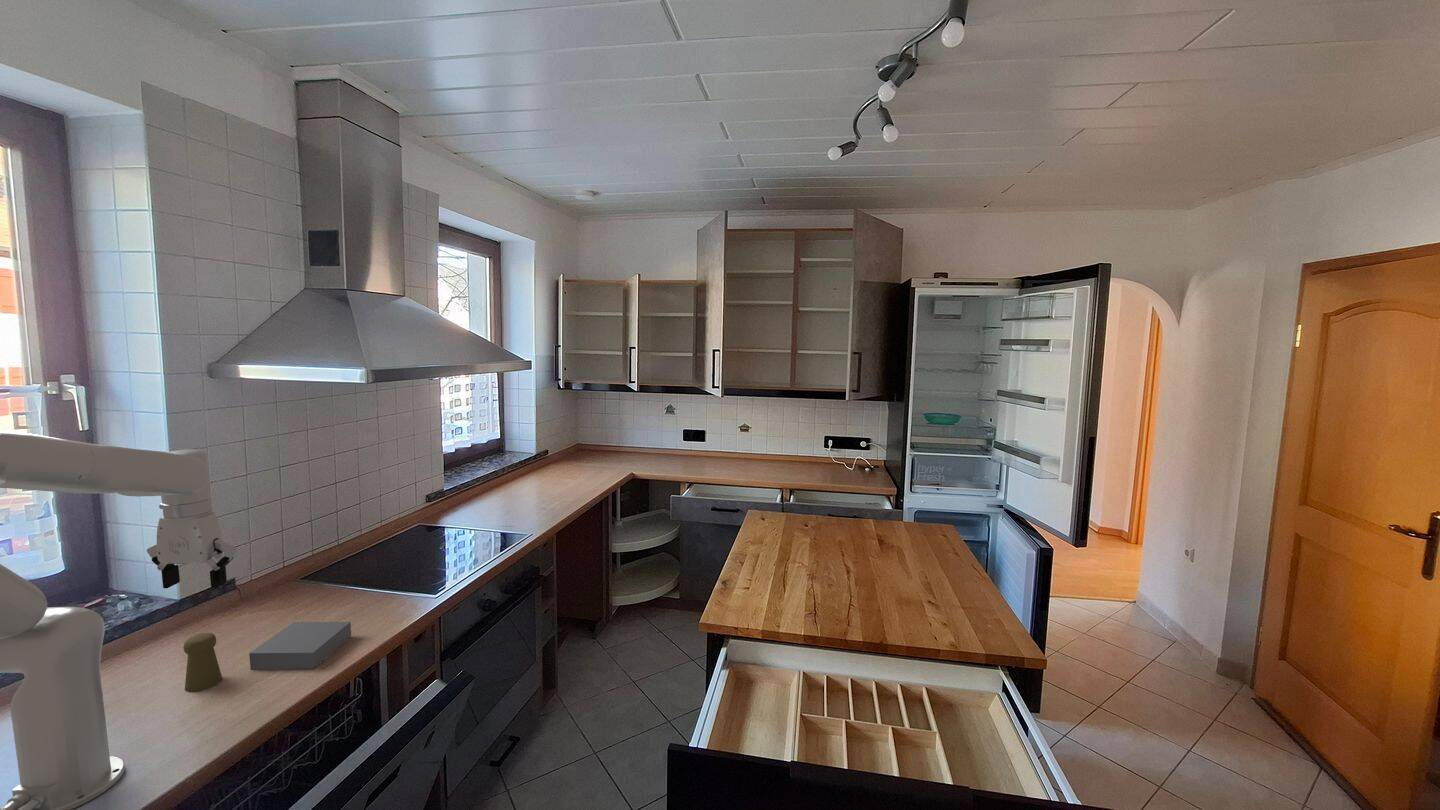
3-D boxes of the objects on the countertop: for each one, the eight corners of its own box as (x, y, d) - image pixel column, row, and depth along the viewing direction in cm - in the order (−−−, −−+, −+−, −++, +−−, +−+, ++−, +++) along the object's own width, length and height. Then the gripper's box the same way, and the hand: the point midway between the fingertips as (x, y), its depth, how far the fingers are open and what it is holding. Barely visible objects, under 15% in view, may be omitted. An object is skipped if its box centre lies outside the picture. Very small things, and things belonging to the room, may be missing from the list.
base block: (313, 669, 126) (312, 652, 126) (250, 669, 126) (249, 653, 125) (351, 636, 140) (350, 621, 140) (294, 636, 139) (293, 622, 139)
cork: (219, 671, 124) (215, 626, 123) (224, 682, 121) (220, 635, 119) (182, 684, 120) (177, 636, 119) (186, 695, 116) (182, 646, 115)
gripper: (126, 513, 112) (135, 593, 114) (215, 514, 112) (222, 593, 115) (162, 502, 119) (169, 578, 121) (245, 503, 120) (251, 578, 122)
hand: (195, 585), depth 118 cm, fingers open, 9 cm apart
